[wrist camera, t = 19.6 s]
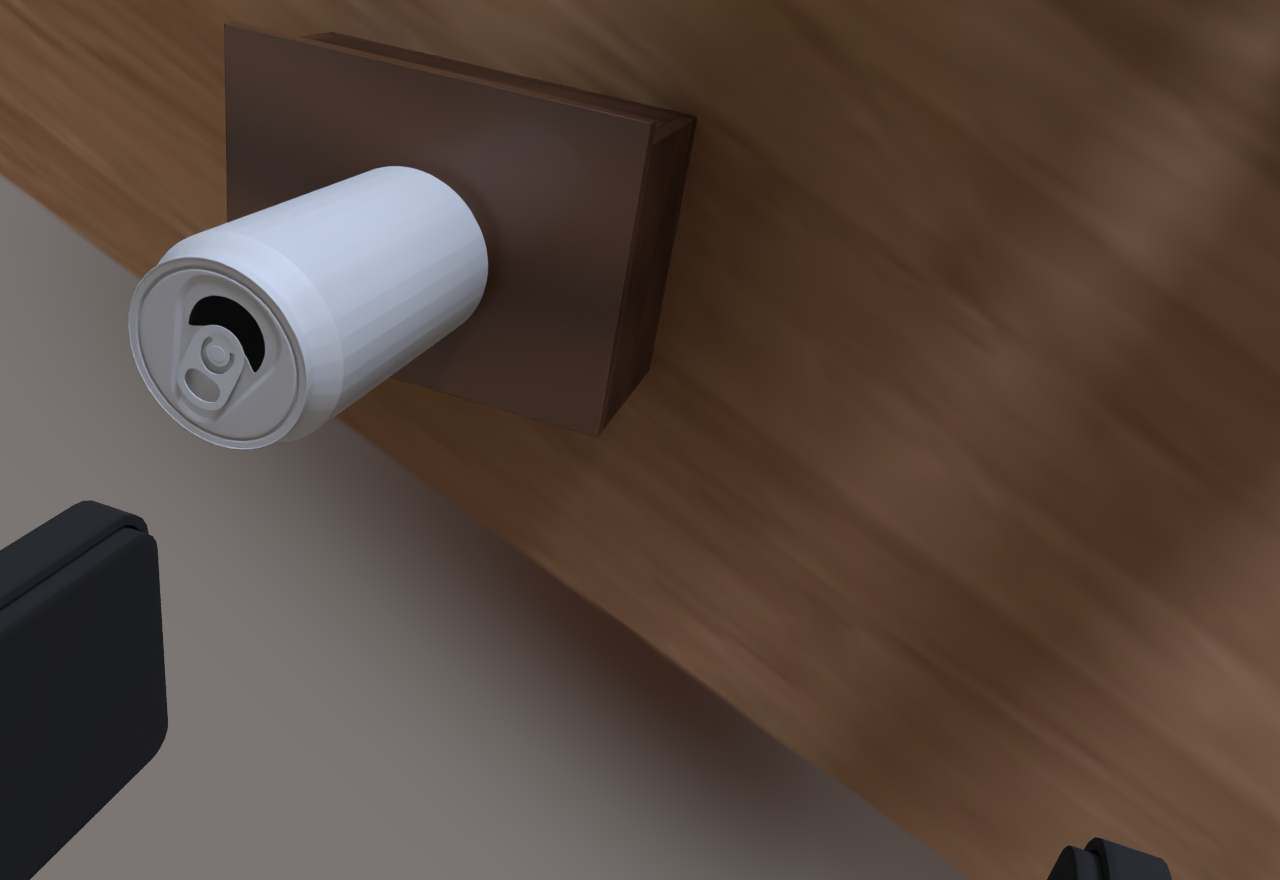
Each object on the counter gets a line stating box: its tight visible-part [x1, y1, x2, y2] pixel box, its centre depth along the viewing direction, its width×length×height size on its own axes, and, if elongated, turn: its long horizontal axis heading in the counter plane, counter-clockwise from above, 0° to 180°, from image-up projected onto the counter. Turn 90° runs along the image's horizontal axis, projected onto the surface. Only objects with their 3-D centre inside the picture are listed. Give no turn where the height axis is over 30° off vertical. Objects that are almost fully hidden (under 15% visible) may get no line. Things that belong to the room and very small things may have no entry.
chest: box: [301, 32, 697, 429], centre depth 42 cm, size 11×16×7 cm
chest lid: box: [224, 22, 656, 437], centre depth 39 cm, size 12×16×1 cm
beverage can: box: [128, 166, 488, 450], centre depth 34 cm, size 6×6×12 cm
